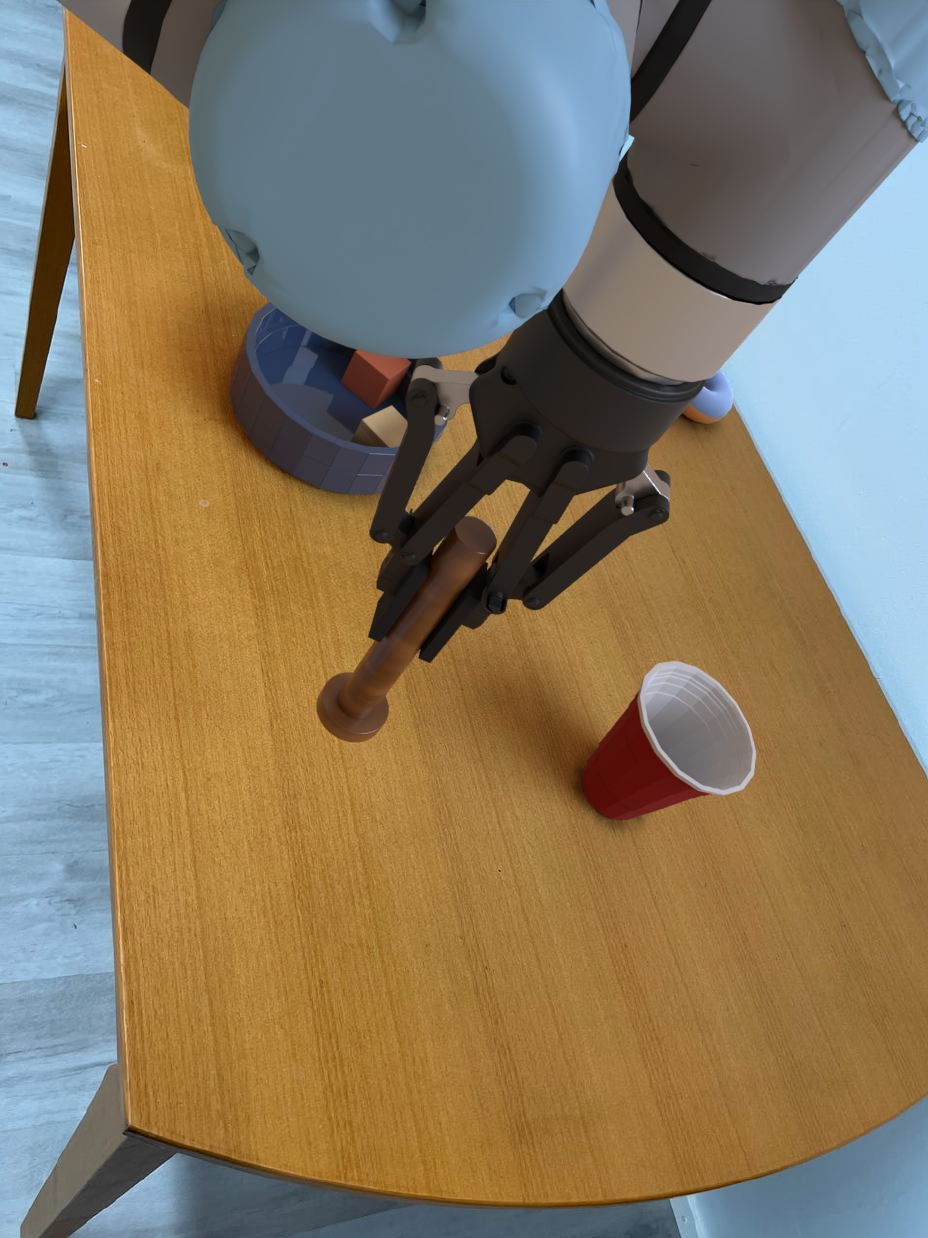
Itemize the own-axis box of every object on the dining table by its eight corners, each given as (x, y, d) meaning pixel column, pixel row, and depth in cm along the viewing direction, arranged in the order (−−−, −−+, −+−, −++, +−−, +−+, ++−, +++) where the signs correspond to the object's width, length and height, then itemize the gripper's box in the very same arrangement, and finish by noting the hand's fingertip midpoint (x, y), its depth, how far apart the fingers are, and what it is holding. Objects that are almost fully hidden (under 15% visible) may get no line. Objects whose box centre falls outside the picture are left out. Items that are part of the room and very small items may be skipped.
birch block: (345, 449, 86) (361, 418, 83) (375, 434, 89) (391, 404, 86) (376, 481, 86) (393, 451, 83) (405, 465, 88) (422, 436, 85)
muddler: (303, 694, 60) (419, 508, 47) (359, 673, 63) (483, 492, 50) (338, 753, 59) (468, 578, 46) (394, 729, 62) (531, 558, 49)
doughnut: (727, 405, 120) (751, 379, 117) (706, 444, 113) (730, 417, 110) (663, 355, 120) (686, 328, 116) (638, 391, 113) (661, 363, 110)
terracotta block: (340, 382, 90) (354, 351, 87) (363, 365, 93) (378, 334, 90) (373, 409, 90) (389, 379, 87) (395, 392, 93) (411, 362, 90)
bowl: (198, 438, 80) (215, 387, 76) (263, 312, 92) (281, 261, 87) (402, 531, 85) (430, 488, 80) (439, 399, 96) (465, 355, 92)
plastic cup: (685, 848, 80) (784, 790, 71) (577, 856, 74) (668, 795, 66) (645, 727, 85) (732, 660, 76) (541, 728, 80) (621, 655, 71)
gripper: (790, 353, 42) (530, 633, 59) (472, 175, 38) (294, 529, 56) (801, 467, 37) (515, 736, 55) (439, 278, 34) (255, 630, 51)
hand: (404, 631), depth 55 cm, fingers closed on muddler, 2 cm apart
